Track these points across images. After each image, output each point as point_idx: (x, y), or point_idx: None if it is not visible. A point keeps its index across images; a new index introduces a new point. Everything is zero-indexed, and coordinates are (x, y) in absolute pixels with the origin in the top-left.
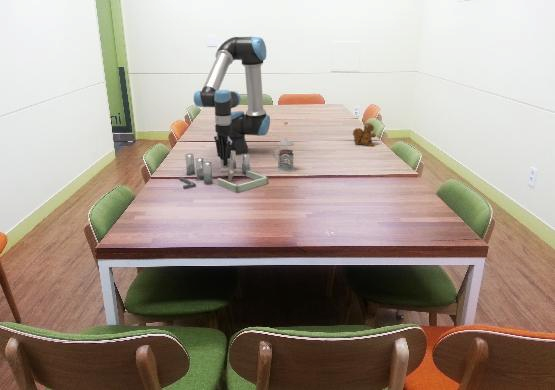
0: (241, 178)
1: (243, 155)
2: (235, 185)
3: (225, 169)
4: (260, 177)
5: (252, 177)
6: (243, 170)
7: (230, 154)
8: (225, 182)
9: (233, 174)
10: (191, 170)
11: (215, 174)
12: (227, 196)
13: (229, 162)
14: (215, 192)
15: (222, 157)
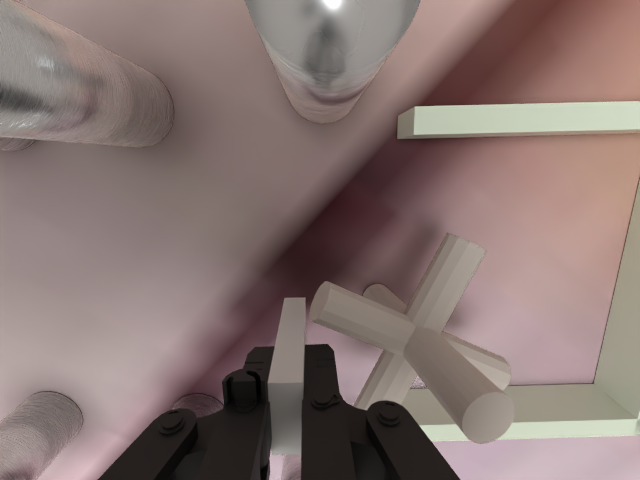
0: (403, 201)
1: (370, 65)
2: (629, 429)
3: (401, 401)
4: (633, 130)
5: (490, 135)
6: (336, 116)
7: (454, 476)
8: (508, 435)
9: (502, 365)
10: (54, 453)
11: (173, 298)
12: (600, 462)
13: (92, 142)
14: (493, 476)
15: (269, 453)
